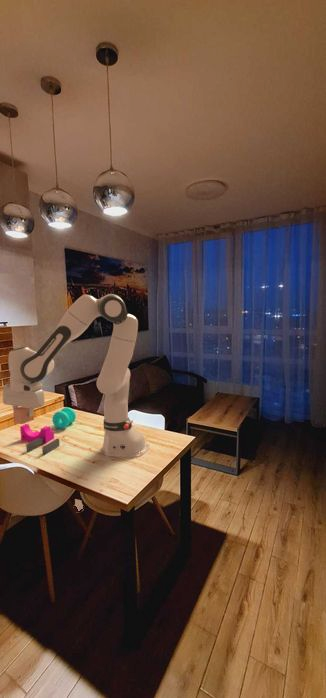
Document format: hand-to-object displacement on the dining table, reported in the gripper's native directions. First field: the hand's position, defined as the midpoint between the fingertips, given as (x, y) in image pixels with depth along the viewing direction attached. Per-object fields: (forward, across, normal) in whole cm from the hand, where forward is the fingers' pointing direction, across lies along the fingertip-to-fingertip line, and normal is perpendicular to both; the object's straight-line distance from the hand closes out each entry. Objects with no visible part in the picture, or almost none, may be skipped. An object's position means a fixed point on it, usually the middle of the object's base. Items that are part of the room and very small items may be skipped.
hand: (24, 415), depth 129 cm
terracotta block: (+2, 0, 0) cm, 2 cm away
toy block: (+20, -10, +17) cm, 28 cm away
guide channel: (+19, 0, +9) cm, 21 cm away
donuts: (+20, -8, +36) cm, 42 cm away
